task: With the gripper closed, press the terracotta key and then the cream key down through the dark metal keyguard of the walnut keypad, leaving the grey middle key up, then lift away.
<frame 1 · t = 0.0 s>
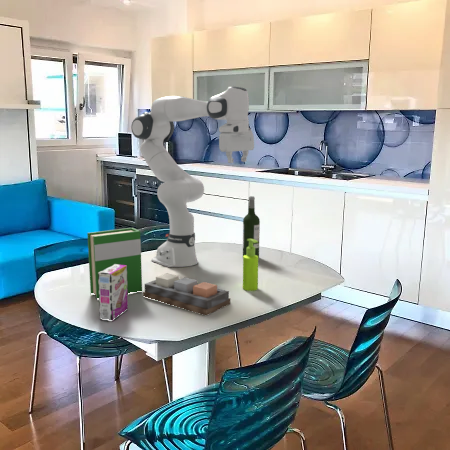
hand: (237, 162, 200), 48 cm above the table, tool pointing down, fingers open, 8 cm apart
cream key: (167, 280, 182), point 6 cm above the table, slide at 0.0 cm
grey key: (185, 285, 177), point 6 cm above the table, slide at 0.0 cm
candy bar box: (114, 315, 164), on the table
soap dispenser: (250, 289, 191), on the table
wine bottle: (250, 258, 235), on the table
hardback book: (116, 294, 185), on the table
keypad: (185, 300, 178), on the table
terracotta key: (205, 290, 172), point 6 cm above the table, slide at 0.0 cm
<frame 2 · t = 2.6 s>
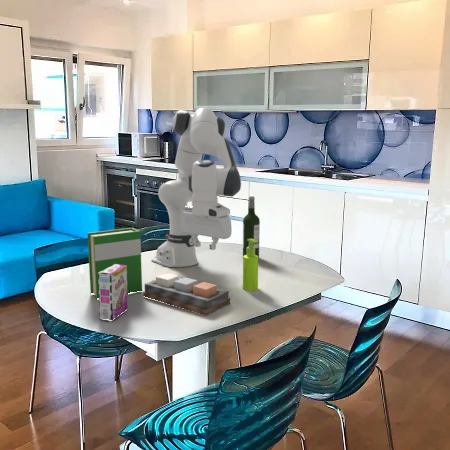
hand: (205, 247, 169), 21 cm above the table, tool pointing down, fingers open, 5 cm apart
nothing on the table moved.
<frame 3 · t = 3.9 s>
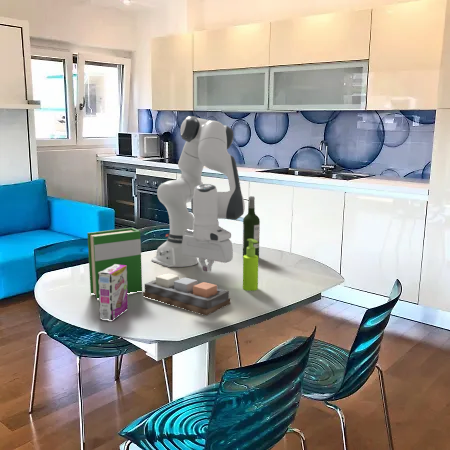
hand: (206, 270, 170), 13 cm above the table, tool pointing down, fingers closed
nothing on the table moved.
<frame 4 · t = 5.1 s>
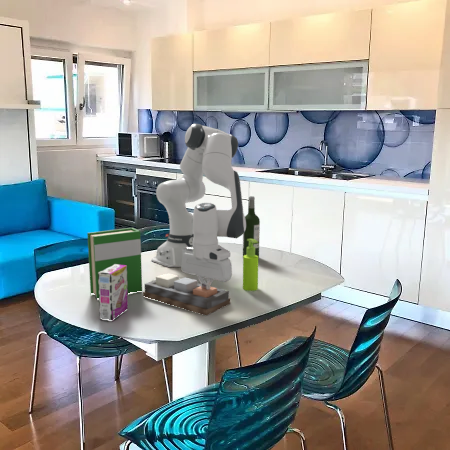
hand: (205, 288, 172), 6 cm above the table, tool pointing down, fingers closed, pressing on terracotta key
terracotta key: (205, 293, 172), point 5 cm above the table, slide at 1.1 cm, touching gripper
everything else where it was.
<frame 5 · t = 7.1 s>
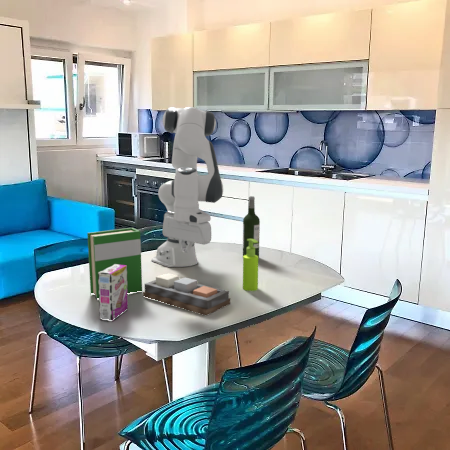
hand: (186, 252, 174), 18 cm above the table, tool pointing down, fingers closed
terracotta key: (205, 294, 172), point 4 cm above the table, slide at 1.5 cm
everything else where it was.
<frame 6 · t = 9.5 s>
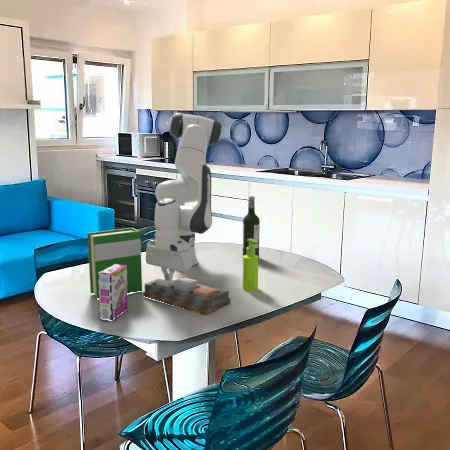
hand: (168, 279, 182), 6 cm above the table, tool pointing down, fingers closed, pressing on cream key
cream key: (167, 283, 182), point 5 cm above the table, slide at 1.1 cm, touching gripper
everything else where it was.
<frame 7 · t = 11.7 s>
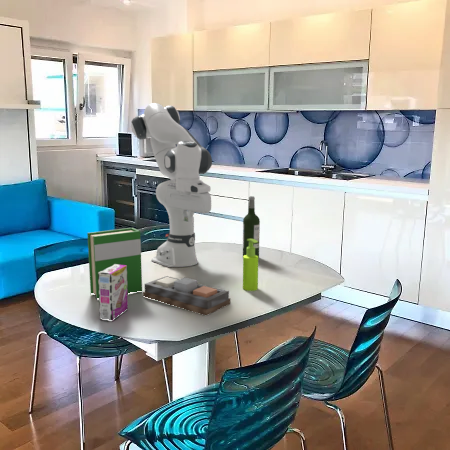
hand: (187, 221, 185), 27 cm above the table, tool pointing down, fingers closed
cream key: (167, 284, 182), point 4 cm above the table, slide at 1.6 cm
everything else where it was.
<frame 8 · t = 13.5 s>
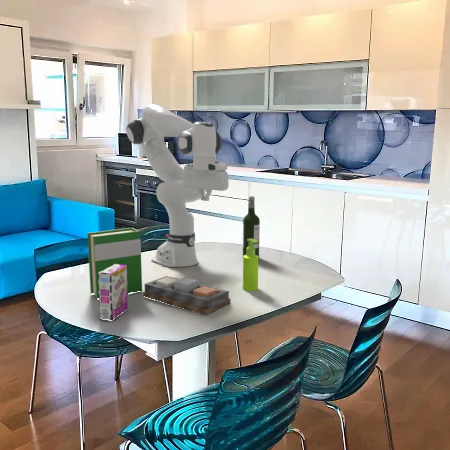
hand: (205, 200, 190), 34 cm above the table, tool pointing down, fingers closed
nothing on the table moved.
at the end: terracotta key slide at 1.5 cm; cream key slide at 1.6 cm; grey key slide at 0.0 cm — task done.
